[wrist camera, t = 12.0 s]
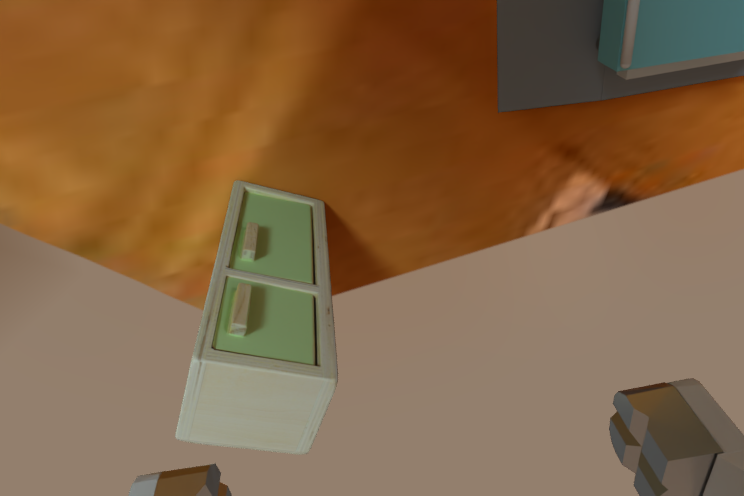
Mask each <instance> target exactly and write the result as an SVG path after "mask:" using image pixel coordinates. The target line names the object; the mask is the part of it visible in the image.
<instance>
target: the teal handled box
mask: <svg viewBox="0 0 744 496" xmlns="http://www.w3.org/2000/svg"><path fill="white" fill-rule="evenodd" d="M596 48H597V50H598V61H599V62H601V63H602V64H604V65H606V66H608V67H609V68H611V69H613V70H615V71H616V72H618V71H624V70H631V69H637V68H643V67H649V66H655V65H661V64H668V63H674V62H680V61H686V60H692V59H698V58H705V57H711V56H717V55H723V54H729V53H736V52H742V51H744V0H604V3H603V12H602V22H601V32H600V36H599V37H598V39H597V41H596Z"/></svg>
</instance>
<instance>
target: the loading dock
mask: <svg viewBox="0 0 744 496" xmlns="http://www.w3.org/2000/svg"><path fill="white" fill-rule="evenodd" d="M603 3H604V0H497V64H498V112H507V111H515V110H524V109H532V108H540V107H549V106H557V105H565V104H574V103H582V102H591V101H599V100H607V99H612V98H618V97H624V96H629V95H635V94H641V93H647V92H652V91H658V90H664V89H669V88H675V87H681V86H686V85H692V84H698V83H703V82H709V81H715V80H720V79H726V78H732V77H738V76H743V75H744V51H742V52H736V53H729V54H723V55H717V56H711V57H705V58H698V59H692V60H686V61H680V62H674V63H668V64H661V65H655V66H649V67H643V68H637V69H631V70H624V71H618V72H616V71H615V70H613V69H611V68H609V67H608V66H606V65H604V64H602V63H601V62H599V61H598V50H597V48H596V41H597V39H598V37H599V36H600V32H601V22H602V12H603Z"/></svg>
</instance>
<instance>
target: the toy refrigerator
mask: <svg viewBox="0 0 744 496" xmlns="http://www.w3.org/2000/svg"><path fill="white" fill-rule="evenodd" d="M337 382H338V369H337V355H336V343H335V330H334V317H333V306H332V294H331V280H330V266H329V253H328V242H327V229H326V216H325V206H324V202H323V201H321V200H317V199H313V198H309V197H305V196H301V195H296V194H292V193H288V192H284V191H280V190H276V189H272V188H268V187H264V186H260V185H255V184H251V183H247V182H243V181H239V180H237V181H235V182H234V184H233V188H232V192H231V197H230V201H229V206H228V210H227V214H226V218H225V223H224V227H223V231H222V235H221V239H220V244H219V248H218V252H217V256H216V261H215V265H214V269H213V273H212V277H211V281H210V285H209V290H208V294H207V298H206V302H205V306H204V311H203V315H202V319H201V323H200V327H199V331H198V335H197V340H196V344H195V348H194V352H193V357H192V360H191V365H190V369H189V374H188V379H187V384H186V388H185V393H184V398H183V403H182V407H181V412H180V416H179V421H178V425H177V430H176V434H175V437H176V439H178V440H181V441H185V442H190V443H198V444H206V445H216V446H227V447H236V448H246V449H254V450H263V451H273V452H282V453H291V454H307V453H308V452H309V451H310V449H311V446H312V444H313V442H314V439H315V437H316V435H317V432H318V430H319V427H320V425H321V423H322V420H323V418H324V416H325V413H326V411H327V408H328V406H329V404H330V401H331V399H332V396H333V394H334V391H335V389H336V386H337Z"/></svg>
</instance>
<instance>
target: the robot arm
mask: <svg viewBox="0 0 744 496" xmlns="http://www.w3.org/2000/svg"><path fill="white" fill-rule="evenodd" d="M613 404H614V406H615V408H616V410H617V412H616V413H615V414H614V415H613V416H612V417H611V418H610V427H609V430H610V436H611V440H612V444H613V447H614V449H615V452H616V454H617V456H618V458H619V459H620V461H621V463H622V465H624V466H625V467H627V468H628V469H630V470H631V471H633V472H634V473H636V475H635V481H634V487H635V488H636V490H637V492H638V494H639V496H744V435H743V434H742V433H741V431H740V430H739V429H738V428H737V427H736V425H735V424H734V423H733V422H732V420H731V419H730V418H729V417H728V416H727V415H726V413H725V412H724V411H723V410H722V409H721V407H720V406H719V405H718V404H717V403H716V401H715V400H714V399H713V397H712V396H711V395H710V394H709V393H708V391H707V390H706V389H705V388H704V387H703V385H702V384H701V383H700V382H699V381H697V380H695V379H693V378H692V379H685V380H679V381H674V382H670V383H659V384H654V385H649V386H644V387H639V388H633V389H628V390H623V391H618V392H617V393H616V394H615V396H614V401H613ZM220 475H221V473H220V471H219V469H218V467H217V466H216V464H209V465H203V466H196V467H191V468H184V469H178V470H171V471H164V472H158V473H152V474H146V475H140V476H138V477H137V478H136V480H135V481H134V483H133V484H132V486H131V489H130V492H129V496H232V495H231V492H230V490H229V488H228V486H227V485H225V484H223V483H220Z"/></svg>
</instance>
